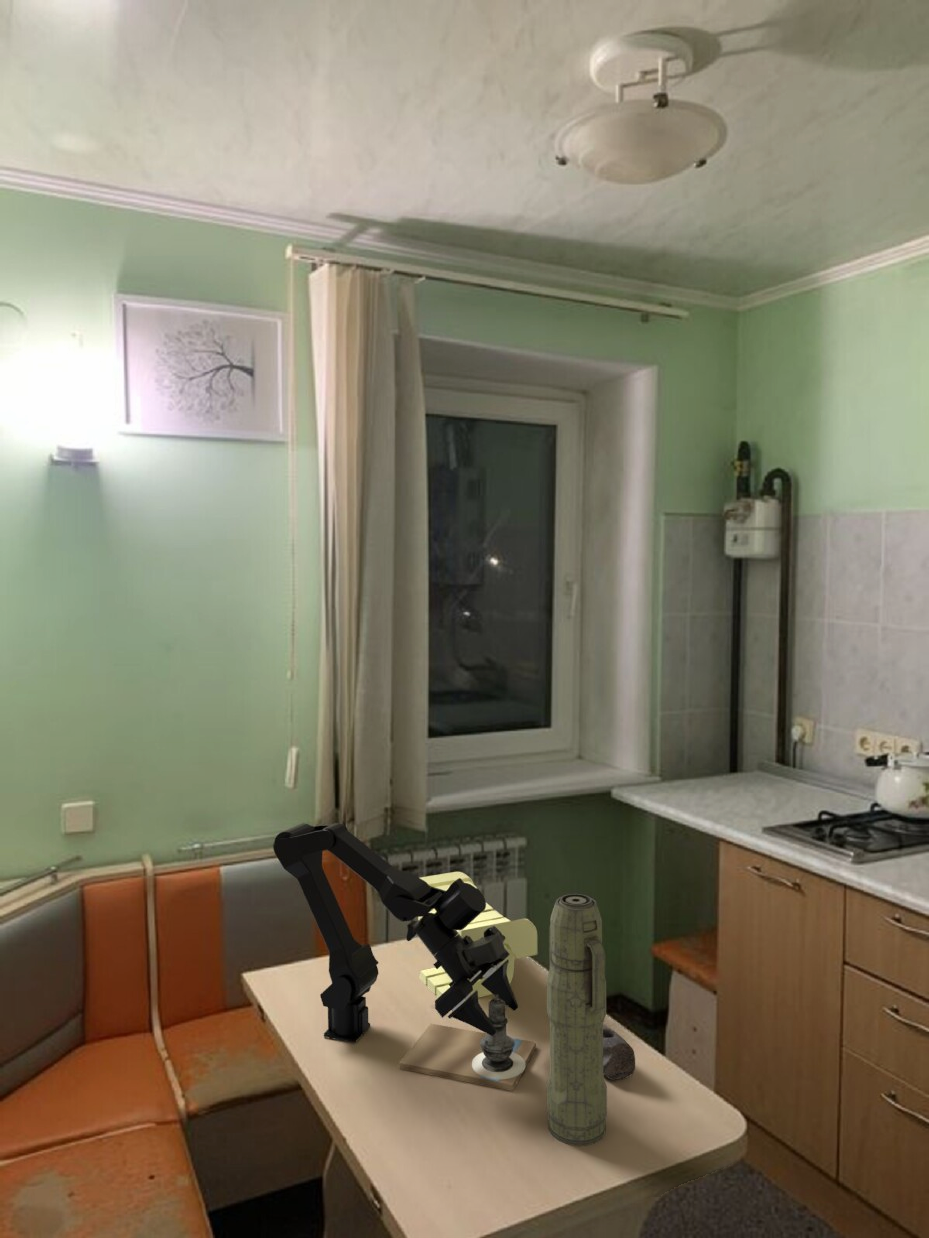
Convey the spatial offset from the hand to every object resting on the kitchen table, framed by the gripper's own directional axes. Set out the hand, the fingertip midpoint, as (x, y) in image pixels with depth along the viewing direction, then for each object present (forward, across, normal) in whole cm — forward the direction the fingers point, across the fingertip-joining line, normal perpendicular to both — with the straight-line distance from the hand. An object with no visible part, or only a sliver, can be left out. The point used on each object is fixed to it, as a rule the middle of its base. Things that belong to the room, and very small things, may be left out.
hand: (505, 1020), depth 151 cm
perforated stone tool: (+16, +9, -3) cm, 18 cm away
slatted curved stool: (-8, +27, +21) cm, 35 cm away
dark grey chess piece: (+4, 0, +7) cm, 8 cm away
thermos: (+17, -9, -5) cm, 20 cm away
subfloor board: (+1, +1, +12) cm, 12 cm away
